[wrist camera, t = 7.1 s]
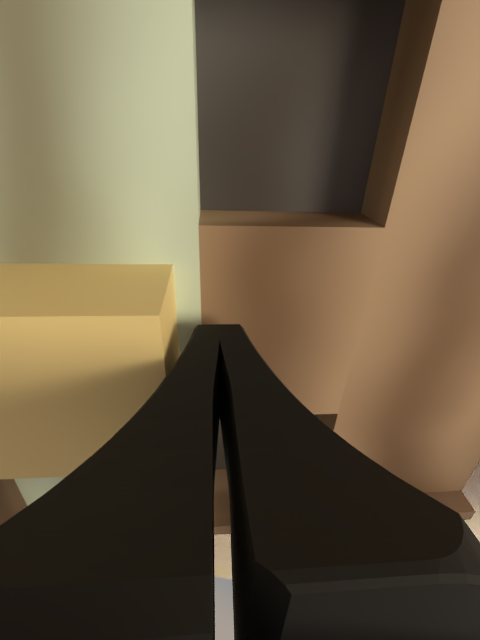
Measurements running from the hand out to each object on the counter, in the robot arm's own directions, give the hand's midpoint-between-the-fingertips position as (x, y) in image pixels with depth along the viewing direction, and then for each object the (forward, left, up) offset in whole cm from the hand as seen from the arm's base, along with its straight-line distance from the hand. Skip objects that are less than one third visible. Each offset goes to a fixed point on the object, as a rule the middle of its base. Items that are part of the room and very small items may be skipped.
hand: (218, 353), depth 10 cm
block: (+4, 0, -1) cm, 4 cm away
